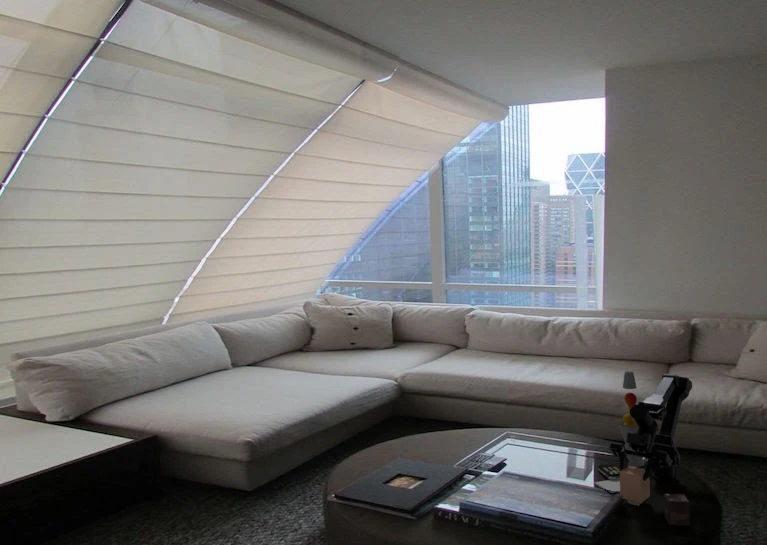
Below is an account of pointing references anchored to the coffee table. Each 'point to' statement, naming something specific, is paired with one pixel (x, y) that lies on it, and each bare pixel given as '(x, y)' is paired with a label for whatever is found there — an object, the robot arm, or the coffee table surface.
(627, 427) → the lava lamp
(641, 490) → the tan block
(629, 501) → the marked cube
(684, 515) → the box
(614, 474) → the remote control
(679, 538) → the coffee table surface
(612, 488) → the mat
